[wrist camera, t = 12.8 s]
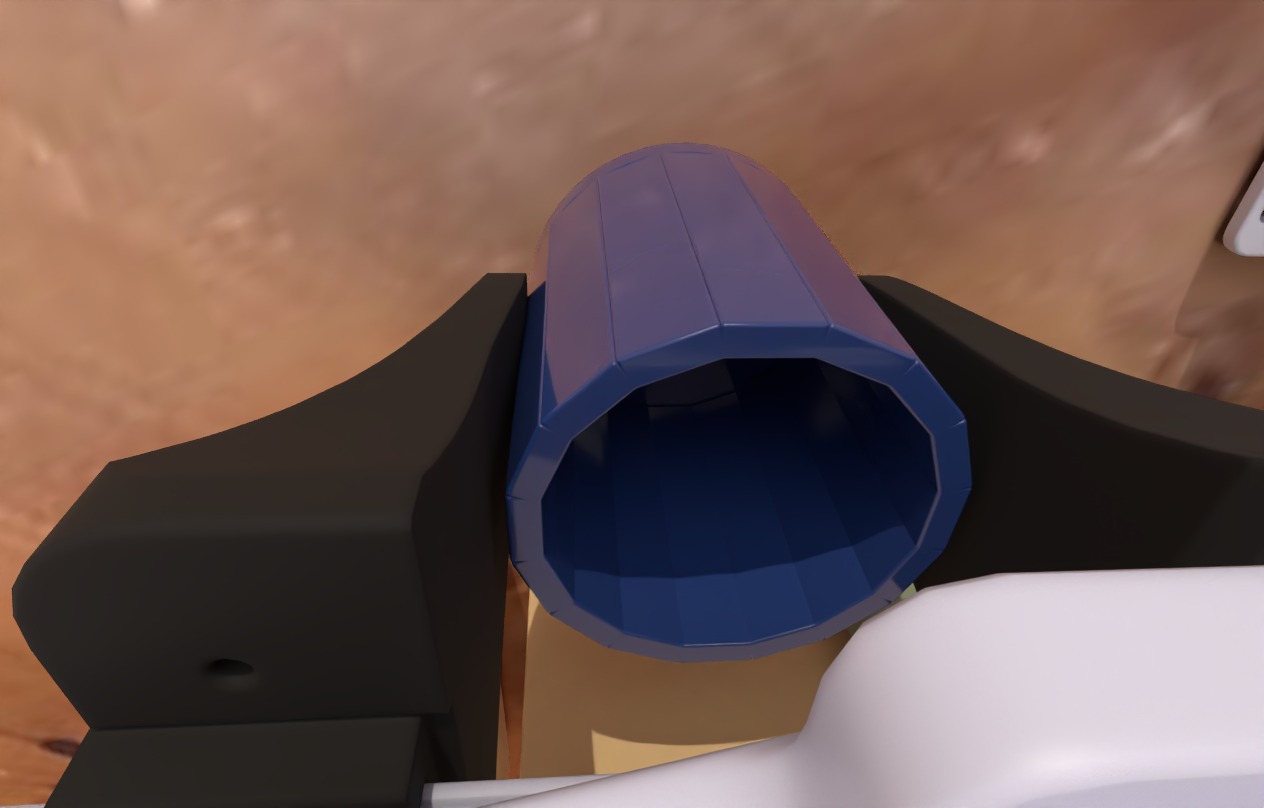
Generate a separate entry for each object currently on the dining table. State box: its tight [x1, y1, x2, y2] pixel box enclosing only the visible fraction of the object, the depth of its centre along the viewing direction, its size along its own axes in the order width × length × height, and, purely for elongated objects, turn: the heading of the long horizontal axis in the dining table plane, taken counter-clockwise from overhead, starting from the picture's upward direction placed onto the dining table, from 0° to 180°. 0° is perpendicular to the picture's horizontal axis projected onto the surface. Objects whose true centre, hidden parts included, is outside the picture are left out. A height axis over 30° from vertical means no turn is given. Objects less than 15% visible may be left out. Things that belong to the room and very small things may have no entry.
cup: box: [504, 143, 972, 663], centre depth 10 cm, size 5×5×6 cm
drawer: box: [496, 590, 851, 780], centre depth 18 cm, size 18×12×7 cm
